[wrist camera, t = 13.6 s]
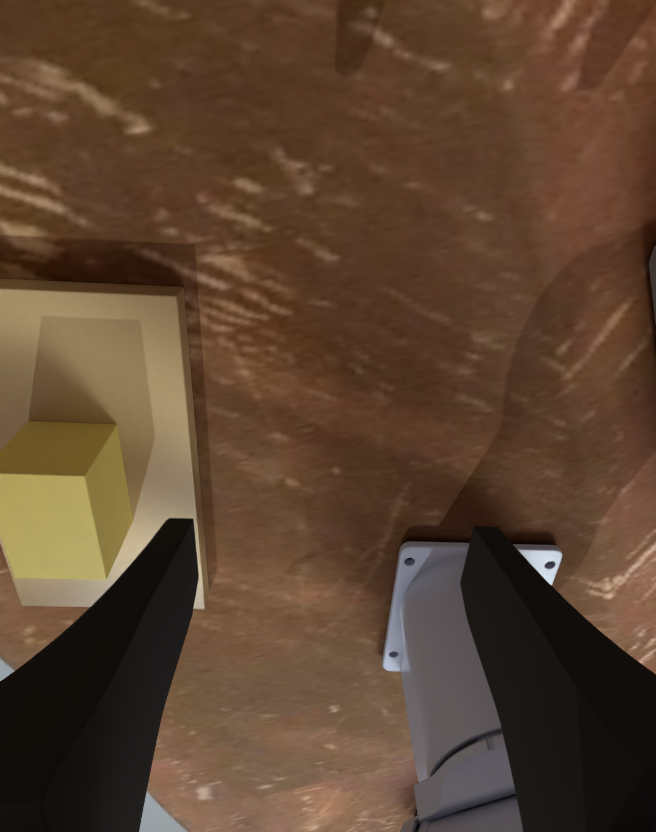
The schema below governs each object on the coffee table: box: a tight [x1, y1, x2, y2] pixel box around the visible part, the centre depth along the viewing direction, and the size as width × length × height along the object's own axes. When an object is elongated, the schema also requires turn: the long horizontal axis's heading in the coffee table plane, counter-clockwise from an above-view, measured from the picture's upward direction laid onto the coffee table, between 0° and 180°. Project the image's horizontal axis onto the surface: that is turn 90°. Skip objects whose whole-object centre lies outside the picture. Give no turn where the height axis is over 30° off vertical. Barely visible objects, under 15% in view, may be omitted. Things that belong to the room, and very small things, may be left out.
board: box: [0, 279, 209, 609], centre depth 23 cm, size 16×9×1 cm, turn 177°
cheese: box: [0, 421, 133, 580], centre depth 21 cm, size 5×4×4 cm
